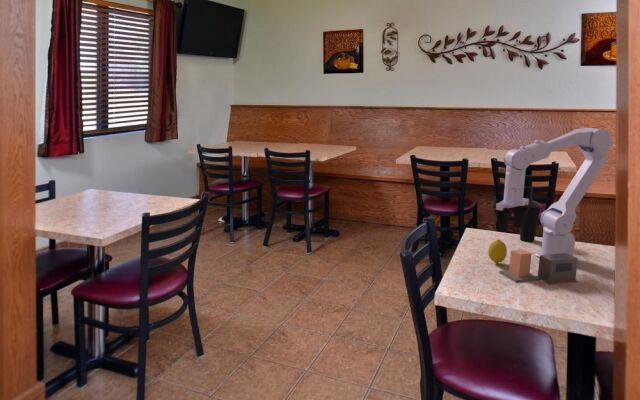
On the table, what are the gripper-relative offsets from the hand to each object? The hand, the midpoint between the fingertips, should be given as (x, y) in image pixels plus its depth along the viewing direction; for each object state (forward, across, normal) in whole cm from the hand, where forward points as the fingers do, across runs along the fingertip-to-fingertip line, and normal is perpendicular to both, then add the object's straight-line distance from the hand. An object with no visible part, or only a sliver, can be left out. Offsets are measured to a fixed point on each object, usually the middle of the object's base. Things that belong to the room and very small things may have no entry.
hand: (510, 229), depth 165 cm
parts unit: (+10, -4, -19) cm, 22 cm away
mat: (+10, -10, -11) cm, 18 cm away
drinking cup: (+10, +25, +9) cm, 29 cm away
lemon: (+11, -6, 0) cm, 12 cm away
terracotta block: (+10, -10, -11) cm, 18 cm away
